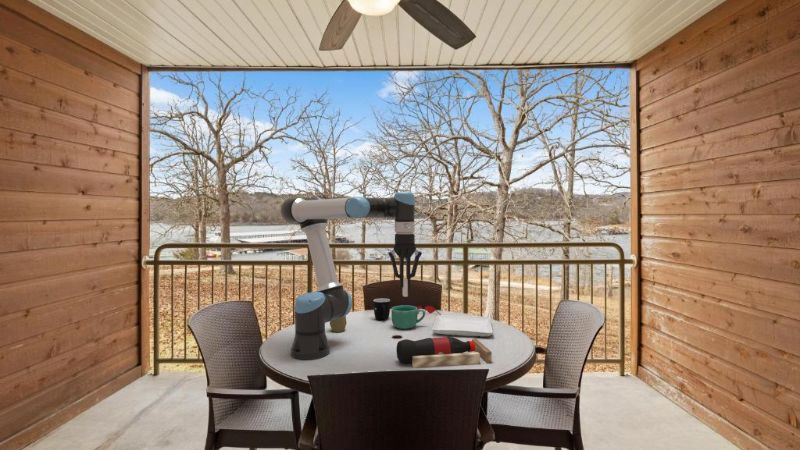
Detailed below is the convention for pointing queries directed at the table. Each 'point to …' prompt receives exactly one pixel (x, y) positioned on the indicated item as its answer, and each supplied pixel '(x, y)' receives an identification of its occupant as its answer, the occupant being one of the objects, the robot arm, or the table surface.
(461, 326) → the square plate
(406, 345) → the cola bottle
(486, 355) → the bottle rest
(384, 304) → the mug
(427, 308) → the glasses
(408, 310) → the mug
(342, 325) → the squeeze bottle
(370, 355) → the table surface
